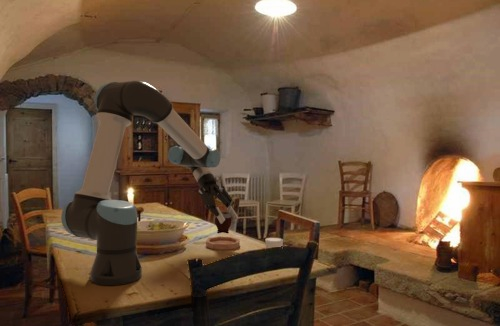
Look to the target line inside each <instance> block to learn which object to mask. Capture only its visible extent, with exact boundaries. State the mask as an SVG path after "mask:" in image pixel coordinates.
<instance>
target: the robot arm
mask: <svg viewBox="0 0 500 326" xmlns="http://www.w3.org/2000/svg"><path fill="white" fill-rule="evenodd" d="M93 102H94V105H95V109H96V111H97V113H96V117H97V118H98V120H99V125H98V127H97V130H96V135H95V138H94V143H93V146H92V149H91V153H90V157H89V160H88V163H87V168H86V172H85V174H84V179H83V182H82V186H81V189H79V190H77V191H75V193H74V196H73V200H71V201H69V202H68V203H67V204H65V205H64V207H63V208H62V211H61V216H60V218H61V220H60V221H61V224H62V227H63V228H64V230H65V231H66V232H67V233H68V234H70V235H72V236H75V237H77V238H81V239H82V238H83V239H88V240H94V241H96V253H95V257H94V261H93V263H92V266H91V269H90V273H89V277H90V279H89V280H90V282H91V283H93V284H95V285H98V286H99V285H100V286H102V285H103V286H119V285H126V284H130V283H133V282H136V281H138V280H140V279H141V278H142V275H143V269H142V264H141V262H140V258H139V256H138V252H137V241H138V239H137V238H138V237H137V235H138V214H137V206H136V205H135V203H134V204H133V203H132V202H129V201H126V200H120V199H119V200H118V199H112V198H111V196H110V195H109V193H110V189H111V186H112V182H113V178H114V174H115V171H116V167H117V163H118V160H119V159H118V158H119V155H120V150H121V147H122V144H123V143H122V142H123V141H124V140H123V139H124V136H125V131H126V128H128V127H129V126H131V125H132V122H133V119H134V116H140V117H145V118H146V119H148V120H149V121H150V122H151V123H153V124H157V125H158V126H159V127H160V128H161V129H163V131H164V132H165V133H166V134H167V135H168V136H169V137H170V138H172V140H173V141H174V142H175V143H177V144H178V145H179V146H178V145H173V146H171V147H170V149H169V151H168V152H167V159H168V162H170V163H172V164H173V165H175V166H181V167H183V168H186V169H189V170H190V172H191V173H192V175H193V177H194V178H195V180H196V182H197V184H198V186H199V189H198V191H197V193H198V194H199V196H200V198H201V199H202V202H203V204H204V206H205V208H206V210H207V211H209V212H211V213H213V214H214V216H215V217H217V218H218V220H219V222H220V224H222V223H223V222H224V221H225V218H224V217H223V215H222V213H221V212H222V211H221V209H220V208H219V206H217V205H216V200H215V198H217V199H218V200H219V201H220V202H221V203H222V205H224V206H225V207H226V212H227V211H228V209H229V206H230V203H231V201H232V200H233V199H232V196H231V195H230V194H229V193H228V191H227V190H226V188H225V186H224V185H222V186H219V185H218V184H217V180H216V177H215V176H214V174H213V172H212V171H211V169H210V168H217V167H218V166H219V164H220V162H221V154H220V151H219V150H218V149H215V148H209V146H207V145H206V143H204V141H203V140H202V139H201V138H200V137H199V136H198V135H197V134H196V132H195V131H194V130H193V129H192V128H191V127H190V125H188V124H187V123H186V121H185V120H184V119H183V118H182V117H181V116H180V114H178V112H176V110H174V108H173V107H174V105H173V103H172V102H171V101H170V99H168V97H167V96H166V95H165V94H163V93H162V92H161V91H159V90H158V89H157V88H155V87H154V86H153V85H151V84H149V83H147V82H145V81H142V80H131V81H129V80H128V81H120V82H119V81H112V82H109V83H104V84H103V85H101V86H100V87H99V88H98V89H97V90H96V92H95V94H94V100H93ZM234 204H235V200H234V201H233V202H232V204H231V207H230V210H229V212H228V213H230V214H231V217H232V221H233V222H236V221H237V220H238V219H239V216H238V214H237V213H236V210H235V208H234V207H233V206H234Z"/></svg>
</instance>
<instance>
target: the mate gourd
mask: <svg viewBox="0 0 500 326" xmlns="http://www.w3.org/2000/svg"><path fill="white" fill-rule="evenodd" d="M236 199H238V196H236V197H235V198H233V199H232V201H231V203H230V206H229V209H228V211H227V210H226V211H221V213H222V215H223V217H224V218H225V221H224V222H223V223H222V224H220V222H219V220H218V218H217V217H216V216H215V218H214V223H215V226H216V228H217V234H222V233H224V234H230V232H229V231H230V230H229V229H230V227H231V226H232V221H233V219H232V217H231V214H230V213H228V212H229V210H230V207H231V204H232V202H233V201H234V202H235V200H236Z"/></svg>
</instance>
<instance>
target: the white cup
mask: <svg viewBox="0 0 500 326" xmlns="http://www.w3.org/2000/svg"><path fill="white" fill-rule="evenodd" d="M283 244H284V239H283V238H281V237H266V238H265V249H266V248H270V247H281V246H284V245H283Z"/></svg>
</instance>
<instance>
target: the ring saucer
mask: <svg viewBox="0 0 500 326" xmlns="http://www.w3.org/2000/svg"><path fill="white" fill-rule="evenodd" d="M205 246H206V248H208V249H211V250H217V251H229V250H236V249H238V248H240V247H241V245H240V238H236V237H233V236H223V235H222V236H213V237H207V239H206V240H205Z"/></svg>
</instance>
